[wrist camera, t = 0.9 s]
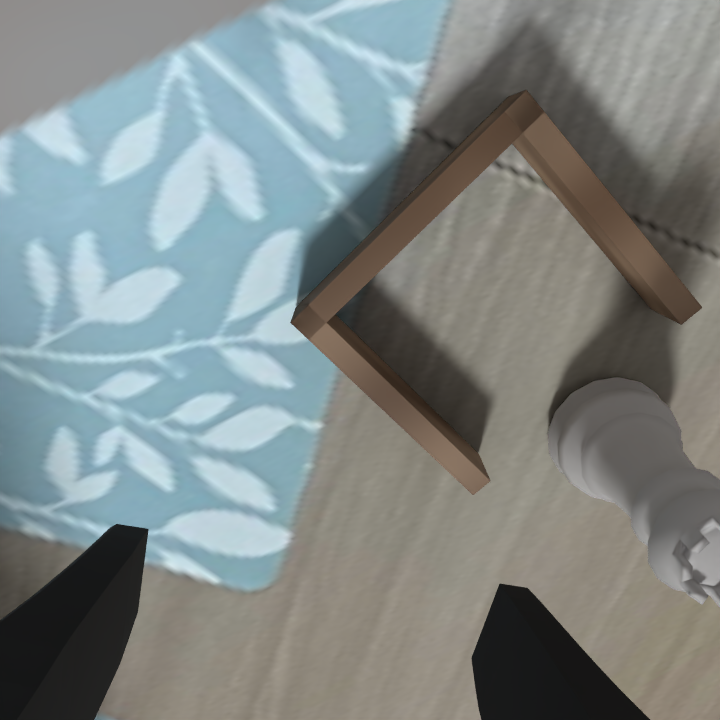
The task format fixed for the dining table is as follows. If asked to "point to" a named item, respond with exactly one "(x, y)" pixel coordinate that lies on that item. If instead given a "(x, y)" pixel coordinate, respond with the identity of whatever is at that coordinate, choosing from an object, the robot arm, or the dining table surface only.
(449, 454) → the bay
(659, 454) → the rook chess piece
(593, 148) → the dining table surface
